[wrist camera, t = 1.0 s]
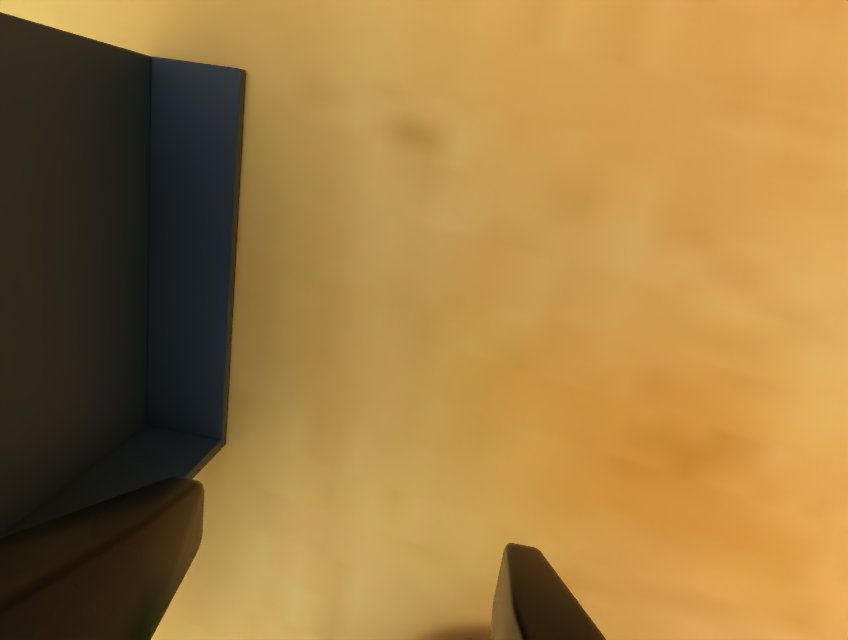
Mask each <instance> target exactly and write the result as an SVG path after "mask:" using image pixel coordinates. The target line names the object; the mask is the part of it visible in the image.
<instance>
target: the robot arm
mask: <svg viewBox="0 0 848 640" xmlns="http://www.w3.org/2000/svg"><path fill="white" fill-rule="evenodd" d="M203 511H204V488H203V485H202V484H201V482H200V481H196V480H191V479H186V478H181V477H176V476H173V477H169V478H166V479H163V480H160V481H158V482H155V483H152V484H149V485H147V486H144V487H141V488H138V489H135V490H133V491H130V492H127V493H124V494H122V495H119V496H116V497H113V498H111V499H108V500H105V501H102V502H99V503H97V504H94V505H91V506H88V507H86V508H83V509H80V510H77V511H74V512H72V513H69V514H66V515H63V516H61V517H58V518H55V519H52V520H50V521H47V522H44V523H41V524H38V525H36V526H33V527H30V528H27V529H25V530H22V531H19V532H16V533H14V534H11V535H8V536H5V537H2V538H0V640H151V638H152V636H153V634H154V632H155V631H156V629H157V627H158V625H159V623H160V621H161V619H162V617H163V616H164V614H165V612H166V610H167V608H168V606H169V604H170V602H171V601H172V599H173V597H174V595H175V593H176V591H177V589H178V587H179V585H180V584H181V582H182V580H183V578H184V576H185V574H186V572H187V570H188V569H189V567H190V565H191V563H192V561H193V559H194V557H195V555H196V553H197V551H198V549H199V546H200V543H201V539H202V532H203ZM490 640H606V639H605V637H604V636H603V635H602V633H601V632H600V631H599V629H598V628H597V627H596V625H595V624H594V623H593V621H592V620H591V619H590V617H589V616H588V615H587V613H586V612H585V611H584V609H583V608H582V607H581V605H580V604H579V603H578V601H577V600H576V599H575V597H574V596H573V594H572V593H571V592H570V590H569V589H568V588H567V586H566V585H565V584H564V582H563V581H562V580H561V578H560V577H559V576H558V574H557V573H556V572H555V570H554V569H553V568H552V566H551V565H550V564H549V562H548V561H547V560H546V558H545V557H544V556H543V554H542V553H541V552H540V551H539V550H538V549H537V548H535V547H530V546H524V545H519V544H514V543H509V544H507V545H506V547H505V550H504V553H503V558H502V562H501V567H500V572H499V577H498V582H497V586H496V591H495V596H494V602H493V610H492V623H491V637H490Z"/></svg>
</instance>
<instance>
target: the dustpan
mask: <svg viewBox="0 0 848 640" xmlns="http://www.w3.org/2000/svg"><path fill="white" fill-rule="evenodd" d="M244 90H245V70H242V69H239V68H232V67H224V66H217V65H210V64H203V63H195V62H188V61H181V60H174V59H166V58H159V57H151V56H148V55H144V54H141V53H137V52H134V51H131V50H127V49H124V48H120V47H117V46H113V45H110V44H107V43H103V42H100V41H96V40H93V39H90V38H86V37H83V36H79V35H76V34H73V33H69V32H66V31H62V30H59V29H56V28H52V27H49V26H45V25H42V24H39V23H35V22H32V21H28V20H25V19H21V18H18V17H15V16H11V15H8V14H4V13H1V12H0V538H2V537H5V536H8V535H11V534H14V533H16V532H19V531H22V530H25V529H27V528H30V527H33V526H36V525H38V524H41V523H44V522H47V521H50V520H52V519H55V518H58V517H61V516H63V515H66V514H69V513H72V512H74V511H77V510H80V509H83V508H86V507H88V506H91V505H94V504H97V503H99V502H102V501H105V500H108V499H111V498H113V497H116V496H119V495H122V494H124V493H127V492H130V491H133V490H135V489H138V488H141V487H144V486H147V485H149V484H152V483H155V482H158V481H160V480H163V479H166V478H169V477H173V476H176V477H181V478H186V479H191V480H192V479H193V478H194V477H195V476H196V475H197V473H198V472H199V471H200V470H201V469H202V468H203V467H204V466H205V465H206V464H207V463H208V462H209V461H210V460H211V459H212V458H213V457H214V456H215V455H216V454H217V453H218V452H219V451H220V450H221V448H222V447H223V446H224V445H225V444H226V428H227V409H228V391H229V372H230V353H231V334H232V316H233V297H234V278H235V259H236V240H237V222H238V203H239V184H240V165H241V146H242V128H243V109H244Z"/></svg>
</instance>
